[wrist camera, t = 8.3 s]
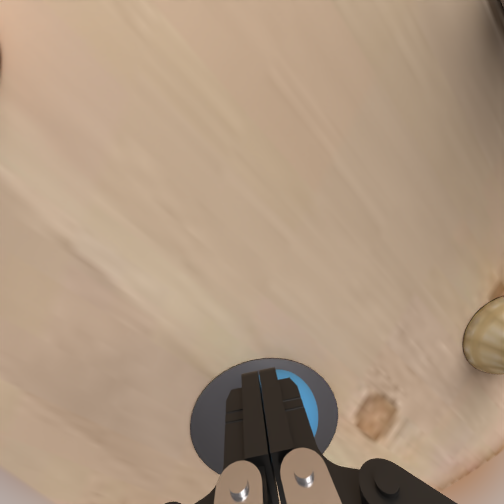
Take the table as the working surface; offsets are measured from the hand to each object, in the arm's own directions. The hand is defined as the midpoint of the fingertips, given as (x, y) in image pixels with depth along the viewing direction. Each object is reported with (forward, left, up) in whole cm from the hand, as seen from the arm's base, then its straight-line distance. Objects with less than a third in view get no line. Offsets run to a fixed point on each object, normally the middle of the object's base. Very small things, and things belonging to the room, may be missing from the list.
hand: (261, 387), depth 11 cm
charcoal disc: (0, +13, -10) cm, 16 cm away
